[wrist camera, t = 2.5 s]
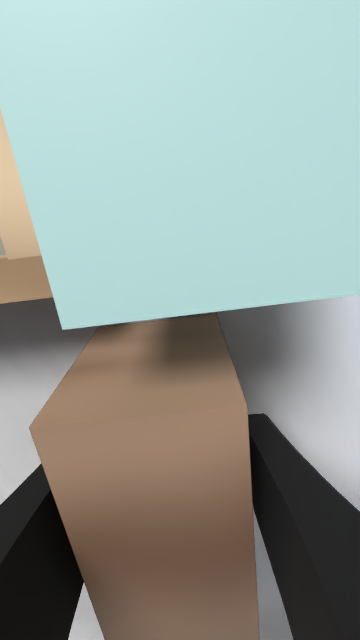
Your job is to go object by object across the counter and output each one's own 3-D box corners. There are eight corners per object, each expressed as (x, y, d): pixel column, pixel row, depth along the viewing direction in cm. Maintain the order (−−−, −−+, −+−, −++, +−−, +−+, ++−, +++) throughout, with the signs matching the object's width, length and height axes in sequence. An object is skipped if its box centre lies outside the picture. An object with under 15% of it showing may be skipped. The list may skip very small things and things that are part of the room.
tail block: (256, 245, 8) (360, 294, 3) (129, 262, 8) (62, 330, 4) (251, 91, 7) (397, -154, 2) (102, 114, 7) (-51, -71, 2)
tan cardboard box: (230, 488, 11) (260, 654, 7) (138, 496, 11) (113, 664, 7) (215, 312, 9) (247, 406, 5) (99, 325, 9) (28, 427, 5)
